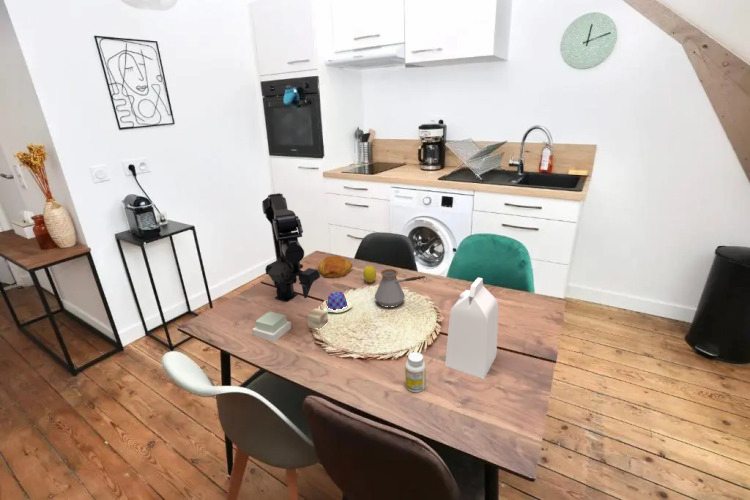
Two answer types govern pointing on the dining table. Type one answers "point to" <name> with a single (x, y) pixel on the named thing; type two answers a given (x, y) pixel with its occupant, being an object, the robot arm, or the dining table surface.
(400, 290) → the coffee pot
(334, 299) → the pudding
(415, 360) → the supplement bottle
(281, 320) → the sage green block
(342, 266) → the croissant
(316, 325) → the birch cube
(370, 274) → the lemon
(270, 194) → the robot arm
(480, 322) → the milk
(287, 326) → the base block
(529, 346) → the dining table surface
